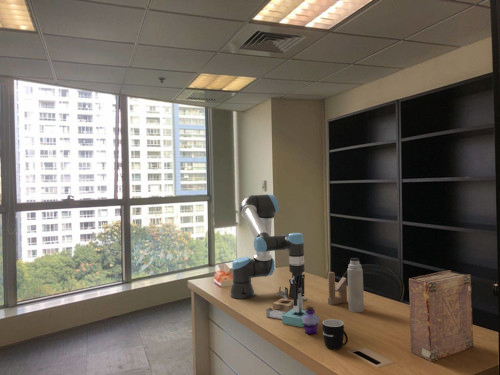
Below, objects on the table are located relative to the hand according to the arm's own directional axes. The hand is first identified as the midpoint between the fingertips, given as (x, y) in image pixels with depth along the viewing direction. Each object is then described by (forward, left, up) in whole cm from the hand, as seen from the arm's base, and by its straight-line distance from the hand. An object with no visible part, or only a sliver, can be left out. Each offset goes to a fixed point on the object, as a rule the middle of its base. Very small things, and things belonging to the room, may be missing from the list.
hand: (298, 310), depth 189 cm
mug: (+27, -20, -6) cm, 34 cm away
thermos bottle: (+20, +30, -6) cm, 37 cm away
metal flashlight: (0, 0, -6) cm, 6 cm away
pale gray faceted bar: (-11, 0, -5) cm, 12 cm away
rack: (-13, +11, -6) cm, 18 cm away
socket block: (0, 0, -6) cm, 6 cm away
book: (+65, -2, -6) cm, 65 cm away
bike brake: (-18, +31, -6) cm, 36 cm away
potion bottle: (+11, -10, -6) cm, 16 cm away
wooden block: (+7, +37, -6) cm, 38 cm away
